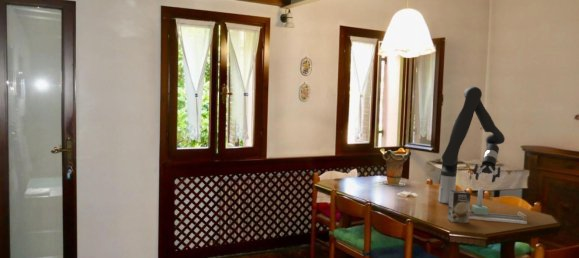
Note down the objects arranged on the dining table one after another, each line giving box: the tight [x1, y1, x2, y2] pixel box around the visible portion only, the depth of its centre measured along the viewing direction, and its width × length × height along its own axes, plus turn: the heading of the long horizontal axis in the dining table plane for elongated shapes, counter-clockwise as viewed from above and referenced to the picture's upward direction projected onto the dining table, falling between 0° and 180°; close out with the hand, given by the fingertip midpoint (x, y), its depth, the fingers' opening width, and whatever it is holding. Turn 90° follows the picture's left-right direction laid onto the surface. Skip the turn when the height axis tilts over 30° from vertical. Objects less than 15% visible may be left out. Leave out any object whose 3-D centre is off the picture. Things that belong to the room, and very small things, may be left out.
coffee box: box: [446, 189, 472, 224], centre depth 239 cm, size 9×6×16 cm
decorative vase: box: [379, 147, 411, 187], centre depth 339 cm, size 21×23×28 cm
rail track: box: [468, 208, 528, 225], centre depth 248 cm, size 30×12×4 cm, turn 80°
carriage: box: [471, 187, 489, 215], centre depth 249 cm, size 7×7×14 cm
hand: (484, 180), depth 259 cm, fingers open, 8 cm apart
